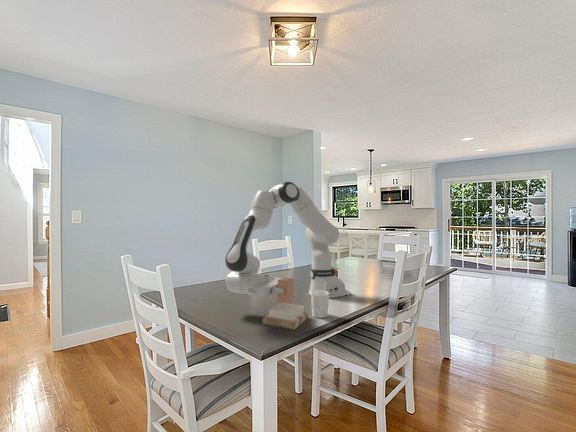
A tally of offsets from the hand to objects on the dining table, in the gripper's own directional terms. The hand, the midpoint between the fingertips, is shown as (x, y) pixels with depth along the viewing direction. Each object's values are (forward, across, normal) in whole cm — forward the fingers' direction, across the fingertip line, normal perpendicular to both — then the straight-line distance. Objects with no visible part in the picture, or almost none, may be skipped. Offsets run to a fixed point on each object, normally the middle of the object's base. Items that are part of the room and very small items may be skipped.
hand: (287, 289), depth 124 cm
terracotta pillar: (-1, 0, +5) cm, 5 cm away
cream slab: (-1, 0, +11) cm, 11 cm away
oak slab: (-1, 0, +14) cm, 14 cm away
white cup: (+10, +12, +14) cm, 21 cm away
